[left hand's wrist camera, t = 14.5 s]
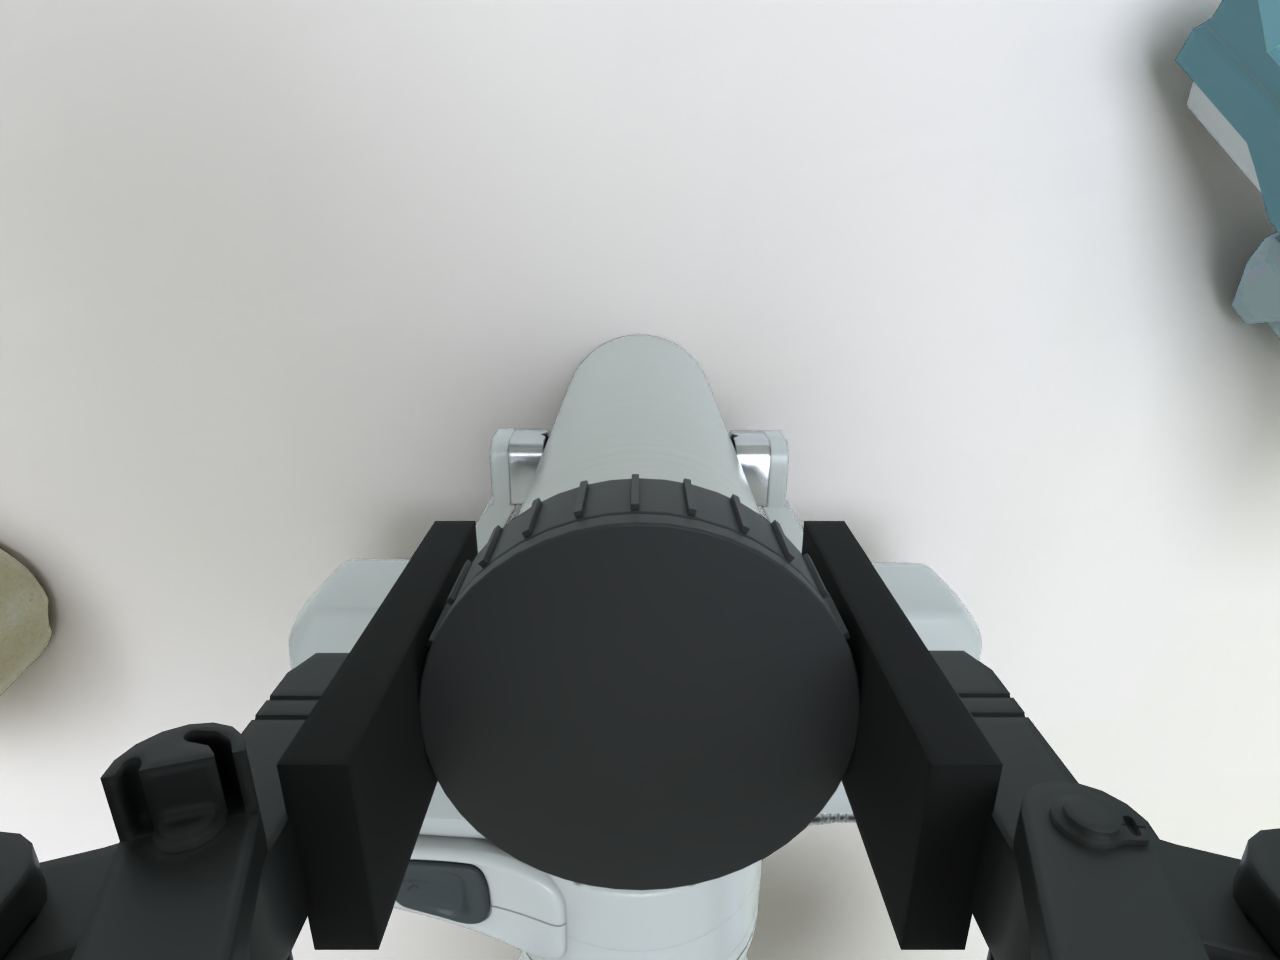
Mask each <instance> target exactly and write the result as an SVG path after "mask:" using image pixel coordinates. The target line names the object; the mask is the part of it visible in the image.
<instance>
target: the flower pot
mask: <svg viewBox="0 0 1280 960" xmlns="http://www.w3.org/2000/svg"><path fill="white" fill-rule="evenodd" d="M48 601H49V600H48V597H47V595H46V593H45V591H44V590H43V588H42V587H41V585H40V584H39V582H38V581H37V580H36V578H35V577H34V576H33V574H32V573H31V572H30V571H29V570H28V569H27V568H26V567H25V566H23V565H22V564H21V563H20V562H19V561H18V560H16V559H15V558H14V557H12V556H11V555H9V554H8V553H7V552H5V551H3V550H2V549H0V695H1V694H2V693H3V692H4V691H5V690H6V689H7V688H8V687H9V686H10V685H11V684H12V683H13V682H14V681H15V680H16V679H17V678H18V677H19V676H20V675H21V674H22V673H23V672H24V671H25V670H26V669H27V668H28V667H29V666H30V665H31V664H32V663H33V662H34V661H35V660H36V659H37V658H38V657H39V656H40V655H41V654H42V652H43V651H44V650H45V648H46V646H47V644H48V643H49V640H50V637H51V634H52V630H51V628H50V626H49V620H48Z"/></svg>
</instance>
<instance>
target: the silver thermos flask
mask: <svg viewBox="0 0 1280 960" xmlns="http://www.w3.org/2000/svg"><path fill="white" fill-rule="evenodd" d="M632 474H639V478H644V479H663V480H670V481H676V482H681V483H683V480H684V478H685V479H690V480H691V484H692V485H696V486H699V487H702V488H705V489H709V490H712V491H715V492H718V493H720V494H723V495H725V496H727V497H729V498H731V496H732V494H734V495H736V496H738V497H739V499H740V502H741V503H742V504H744V505H745V506H747V507H749V508H750V509H752V510H753V511H755V512H757V513H758V514H760V512H759V509H758V507H757V504H756V502H755V499H754V497H753V494H752V492H751V489H750V487H749V484H748V482H747V479H746V477H745V474H744V471H743V469H742V466H741V464H740V461H739V459H738V456H737V454H736V451H735V449H734V446H733V444H732V441H731V439H730V436H729V434H728V431H727V429H726V426H725V424H724V421H723V419H722V416H721V414H720V411H719V408H718V406H717V403H716V401H715V398H714V396H713V393H712V391H711V388H710V386H709V383H708V381H707V379H706V376H705V374H704V372H703V371H702V369H701V368H700V366H699V365H698V363H697V362H696V361H695V360H694V359H693V357H692V356H691V355H689V354H688V353H687V352H686V351H685V350H683V349H682V348H680V347H679V346H677V345H676V344H674V343H672V342H670V341H668V340H665V339H662V338H659V337H654V336H648V335H632V336H625V337H620V338H617V339H614V340H611V341H609V342H607V343H605V344H603V345H601V346H600V347H598V348H597V349H595V350H594V351H593V352H592V353H590V354H589V355H588V356H587V357H586V358H585V359H584V361H583V362H582V363H581V364H580V365H579V367H578V369H577V370H576V372H575V374H574V376H573V378H572V380H571V383H570V385H569V388H568V390H567V393H566V395H565V398H564V400H563V403H562V405H561V408H560V410H559V413H558V416H557V418H556V421H555V423H554V426H553V428H552V431H551V433H550V436H549V438H548V441H547V444H546V446H545V449H544V451H543V454H542V456H541V459H540V461H539V464H538V466H537V469H536V471H535V474H534V477H533V479H532V482H531V484H530V487H529V489H528V492H527V494H526V497H525V499H524V502H523V504H522V507H521V510H520V512H519V515H520V514H521V513H523V512H524V511H526V510H528V509H529V508H531V505H532V502H533V500H535V499H537V498H540V500H541V501H544V500H546V499H548V498H550V497H552V496H554V495H556V494H559V493H562V492H565V491H568V490H571V489H574V488H577V487H579V486H580V482H581V481H585V480H587V481H588V484H593V483H598V482H603V481H608V480H619V479H632ZM760 515H761V514H760Z"/></svg>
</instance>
